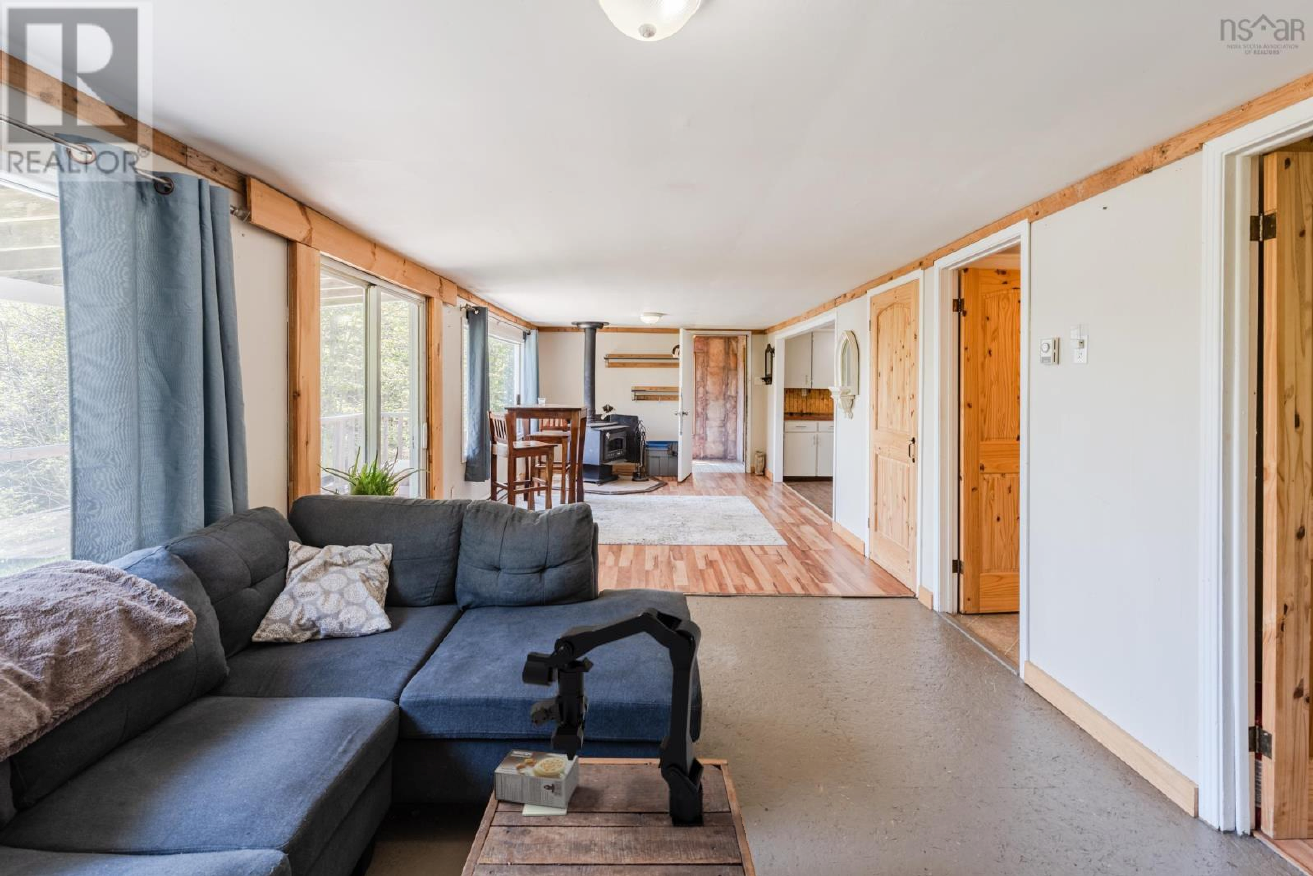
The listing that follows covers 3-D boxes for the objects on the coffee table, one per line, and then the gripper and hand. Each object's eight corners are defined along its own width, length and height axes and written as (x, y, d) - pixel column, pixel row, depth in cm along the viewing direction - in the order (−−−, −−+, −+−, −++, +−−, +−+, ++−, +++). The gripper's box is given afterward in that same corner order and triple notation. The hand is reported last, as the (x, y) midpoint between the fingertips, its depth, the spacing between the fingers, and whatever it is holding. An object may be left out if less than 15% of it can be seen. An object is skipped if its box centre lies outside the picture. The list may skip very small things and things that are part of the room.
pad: (572, 780, 133) (572, 778, 133) (565, 815, 121) (565, 813, 121) (532, 781, 133) (532, 779, 133) (522, 816, 121) (522, 814, 121)
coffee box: (579, 783, 131) (512, 775, 134) (579, 755, 131) (512, 747, 134) (564, 809, 122) (493, 800, 125) (564, 779, 122) (493, 770, 125)
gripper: (540, 670, 136) (540, 737, 136) (525, 710, 117) (525, 787, 118) (588, 670, 136) (588, 736, 137) (581, 709, 118) (581, 786, 118)
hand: (570, 759), depth 127 cm, fingers closed
